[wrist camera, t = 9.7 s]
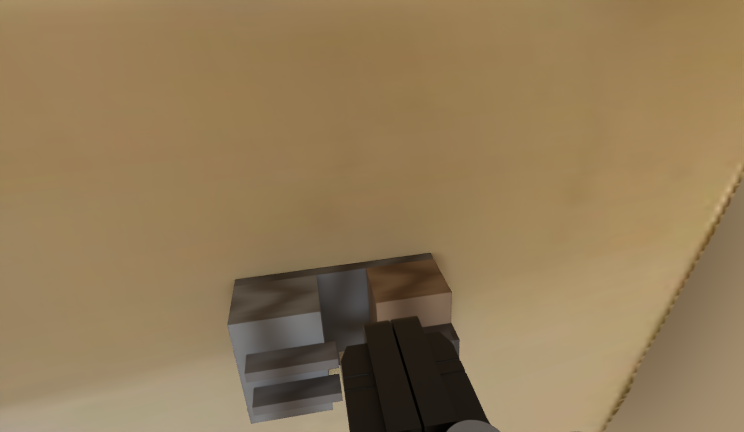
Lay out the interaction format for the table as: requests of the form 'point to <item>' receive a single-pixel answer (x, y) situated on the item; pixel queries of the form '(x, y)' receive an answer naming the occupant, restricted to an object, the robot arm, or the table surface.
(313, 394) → the door and jamb
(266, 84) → the table surface
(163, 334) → the table surface
